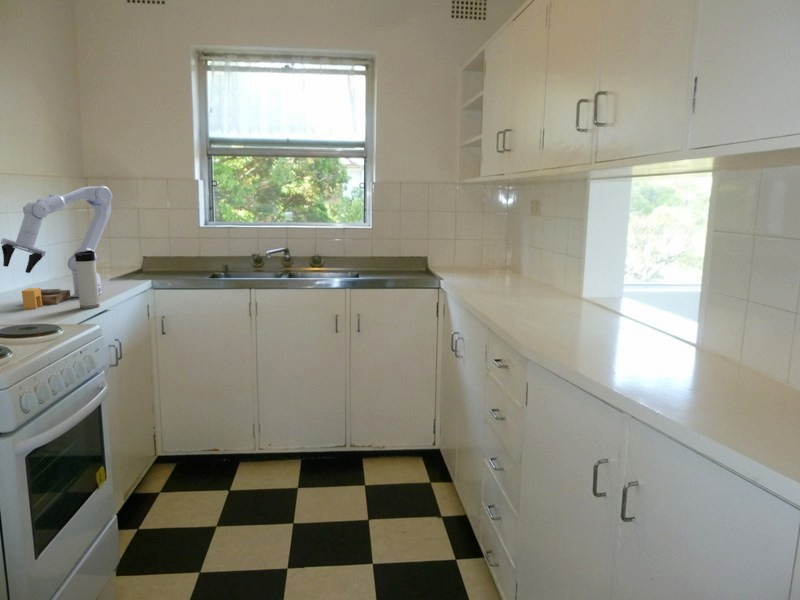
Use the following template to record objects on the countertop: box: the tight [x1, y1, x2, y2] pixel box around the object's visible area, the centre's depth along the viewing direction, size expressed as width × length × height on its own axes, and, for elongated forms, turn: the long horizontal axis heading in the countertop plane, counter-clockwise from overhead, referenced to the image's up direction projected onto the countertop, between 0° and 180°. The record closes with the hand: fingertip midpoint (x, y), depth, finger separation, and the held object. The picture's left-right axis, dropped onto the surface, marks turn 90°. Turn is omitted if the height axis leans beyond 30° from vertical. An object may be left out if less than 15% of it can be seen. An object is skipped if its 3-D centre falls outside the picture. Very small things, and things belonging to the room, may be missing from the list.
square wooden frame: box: [40, 288, 72, 306], centre depth 229 cm, size 11×14×5 cm
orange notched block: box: [21, 287, 43, 310], centre depth 217 cm, size 4×5×6 cm
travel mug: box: [75, 250, 101, 310], centre depth 216 cm, size 6×7×20 cm
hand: (16, 269), depth 218 cm, fingers open, 7 cm apart
